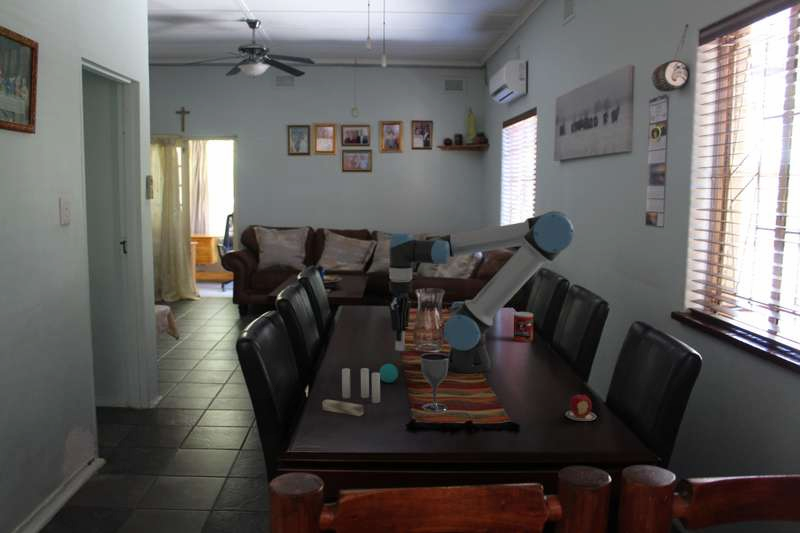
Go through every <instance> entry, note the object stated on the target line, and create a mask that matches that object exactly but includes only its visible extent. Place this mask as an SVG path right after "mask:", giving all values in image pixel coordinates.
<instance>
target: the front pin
mask: <svg viewBox="0 0 800 533" xmlns="http://www.w3.org/2000/svg"><path fill="white" fill-rule="evenodd" d="M369 369H370V368H368V367H367V368H366V367H363V368H360V397H361V398H362V399H368V398H369V397H370V370H369Z"/></svg>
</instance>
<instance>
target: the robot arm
mask: <svg viewBox="0 0 800 533" xmlns="http://www.w3.org/2000/svg"><path fill="white" fill-rule="evenodd" d="M389 238H390V239H389V248H388V249H389V270H388V273H389V280H390V281H389V283H388V284H389V287H388V288H389V289H388V290H389V292H390V293H392V295H393V296H392V302H390V303H389V304H388V308H389V310H390V319H391V321H390V322H391V330H392V332H395V343H394V344H395V351H400V352H404V351H405V349H406V347H405V346H406V344H405V343H406V342H405V341H406V340H405V339H406V338H405V337H406V331H407V332H408V329H409V328H408V327H409V321H410V320H409V319H410V313H411V304H412V300H413V299H412V298H411V297H409V293H412V291H413V281H412V279H413V263H415V264H417V263H418V264H431V265H433V264H434V265H441V264H443V265H445V264H447V263H449V260H450V258H453V257H458V256H465V255H470V254H477V253H478V254H479V253H484V252H489V251H496V250H504V249H509V248H515V247H519V248H518V250H517V251H516V252H514V254H513V255H512V256H511V257H510V258H509V259H508V260H507V262H506V263H505V264H503V266H502V267H501V268H500V269H499V270H498V271H497V272H496V274H495V275H494V276H493V277H492V278H491V279H490V280H489V281H488V282H487V283H486V285H485V286H484V287H483V288H482V289H481V290H480V291H479V292H478V294H476V296H475V297H474V298H473V299H466V300H464V301H454V302H453V303H452V305H451V308H450V309H451V310H450V311H451V316H450V317H448V319H447V320H446V322H445V324H444V326H443V336H444V339H445V341H446V342H447V344H448V345H449V346H450V348H449V353H448V354H447V355H448V356H449V366H448V371H449V370H450V371H451V372H457V373H462V374H463V373H464V374H475V373H476V374H477V373H484V372H487V371H489V370H490V369H491V359H490V357H489V354H488V349H487V346H486V334H487V332H488V331H489V330H490V328H491V327H492V326H493V324H494V323H493V318H494V317H495V316H496V315H497V314H498V313H499V312H500V311H501V310H502V308H503V307H504V306H505V305H506V304H507V303H508V302H509V301H510V300H511V299H512V298H513V297H514V295H516V294H517V293H518V291H519V290H520V289H521V288H522V287H523V286H524V285H525V284H526V282H528V281H529V279H530V278H531V277H532V276H533V275H534V274H535V273H536V272H538V270H539V269H540V268H541V266H542V265H544V264H549V263H553V261H554V260H555V259H556V258H557V257H558V256H559V254H561V252H563V251H564V250H566V249H568V247H569V246H570V245H571V244H572V242H573V240H574V238H575V227H574V224H573V222H572V220H571V219H570V218H569V217H568V216H567V214H565V213H563V212H561V211H554V210H553V211H549V212H546V213H543V214H540V215H537V216H534V217H533V216H532V217H527V218H526V219H525V221H522V222H517V223H511V224H505V225H500V226H493V227H488V228H482V229H476V230H471V231H470V230H469V231H464V232H460V233H459V232H458V233H454V234H453V233H452V234H449V235H442V236H441V235H438V236H434V237H432V238H431V239H414V236H413V234H412V233H407V232H395V233H392V234H390V236H389Z"/></svg>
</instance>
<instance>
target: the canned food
mask: <svg viewBox="0 0 800 533" xmlns="http://www.w3.org/2000/svg"><path fill="white" fill-rule="evenodd" d="M533 329H534V314H533V313H532V312H527V311H517V312H515V313H513V340H514V341H515V342H518V343H530V342H532V341H533V337H534V336H533V334H534V330H533Z"/></svg>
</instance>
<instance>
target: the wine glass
mask: <svg viewBox="0 0 800 533" xmlns="http://www.w3.org/2000/svg"><path fill="white" fill-rule="evenodd" d="M448 355H449V354H446V353H442V352H427V353H426V352H425V353H423V354H421V355H420V369H421V374H422V376H423V378H424V379H425V380H426V381H427V383H428V384H429V385H430V387H431V388H432V389H431V390H432V398H433V399H432V400H433V401H432V402H431V403H426V405H425V404H423V405H422V407H421V409H422V408H423V409H424V411H425V410H426V412H430V413H431V412H432V413H438V412H439V413H440V412H444V411H446V410H447V409H448V406H447V405H445V404H442V403H437V392H438V387H439V385H440V384H441V383H442V382H443V381H444V379H445V378H446V377H447V375H448V371H449V369H448V366H449V356H448ZM423 409H422V410H423Z"/></svg>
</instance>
